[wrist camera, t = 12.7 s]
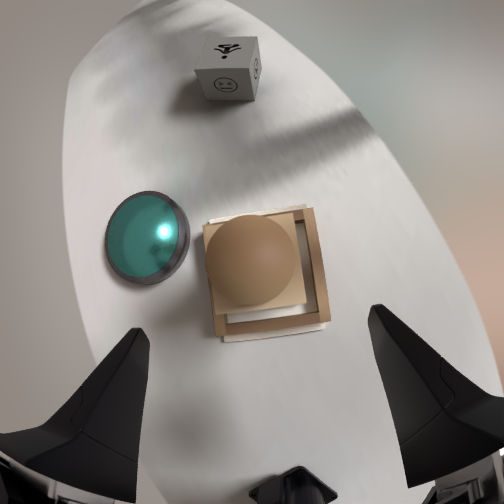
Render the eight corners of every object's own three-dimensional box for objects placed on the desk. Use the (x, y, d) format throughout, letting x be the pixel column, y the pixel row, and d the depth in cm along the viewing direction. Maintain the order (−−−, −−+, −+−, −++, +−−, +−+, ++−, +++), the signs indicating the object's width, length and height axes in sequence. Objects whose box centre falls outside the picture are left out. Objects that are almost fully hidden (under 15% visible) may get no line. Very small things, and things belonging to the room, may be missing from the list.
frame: (328, 327, 21) (332, 330, 19) (222, 341, 21) (217, 345, 20) (309, 205, 22) (311, 198, 21) (206, 221, 23) (201, 216, 21)
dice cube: (261, 69, 25) (257, 36, 20) (254, 101, 24) (249, 68, 19) (217, 69, 26) (207, 38, 21) (206, 100, 25) (193, 69, 20)
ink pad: (208, 242, 23) (203, 239, 21) (141, 302, 23) (132, 302, 21) (158, 179, 24) (151, 172, 22) (100, 235, 24) (91, 232, 22)
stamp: (301, 301, 21) (323, 314, 10) (240, 310, 21) (195, 329, 10) (292, 240, 22) (302, 189, 10) (232, 249, 22) (183, 209, 11)
